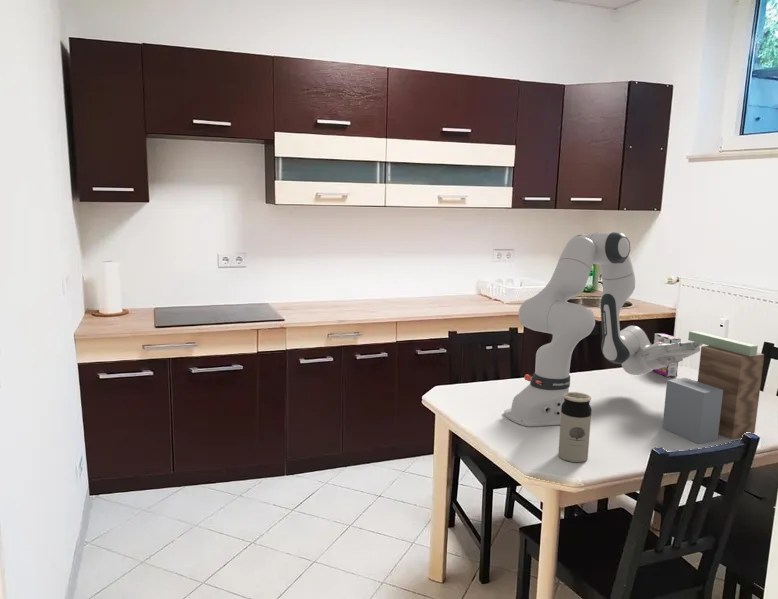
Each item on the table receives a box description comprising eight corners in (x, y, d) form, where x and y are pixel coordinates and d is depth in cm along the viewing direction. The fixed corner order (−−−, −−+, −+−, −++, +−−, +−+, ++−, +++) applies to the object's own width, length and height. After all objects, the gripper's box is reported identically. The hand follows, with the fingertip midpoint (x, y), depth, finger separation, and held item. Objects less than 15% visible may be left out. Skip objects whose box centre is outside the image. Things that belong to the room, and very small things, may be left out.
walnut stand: (731, 439, 181) (741, 357, 177) (693, 423, 194) (701, 346, 190) (754, 434, 185) (764, 354, 181) (714, 419, 198) (723, 344, 194)
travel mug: (559, 449, 172) (564, 390, 169) (588, 454, 169) (593, 393, 166) (556, 460, 165) (560, 398, 162) (586, 465, 162) (591, 402, 159)
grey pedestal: (698, 444, 177) (704, 392, 175) (662, 428, 190) (667, 380, 187) (717, 440, 180) (723, 390, 178) (680, 424, 193) (685, 377, 190)
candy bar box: (677, 377, 246) (681, 338, 244) (666, 377, 246) (670, 339, 243) (660, 369, 257) (664, 332, 255) (650, 369, 256) (653, 333, 254)
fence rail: (749, 356, 179) (750, 346, 178) (688, 340, 199) (689, 331, 198) (756, 355, 180) (757, 345, 179) (694, 339, 200) (695, 330, 199)
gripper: (635, 348, 209) (664, 336, 197) (677, 344, 216) (708, 332, 204) (640, 366, 207) (670, 355, 195) (683, 361, 214) (714, 350, 202)
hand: (690, 343), depth 200 cm, fingers open, 8 cm apart
